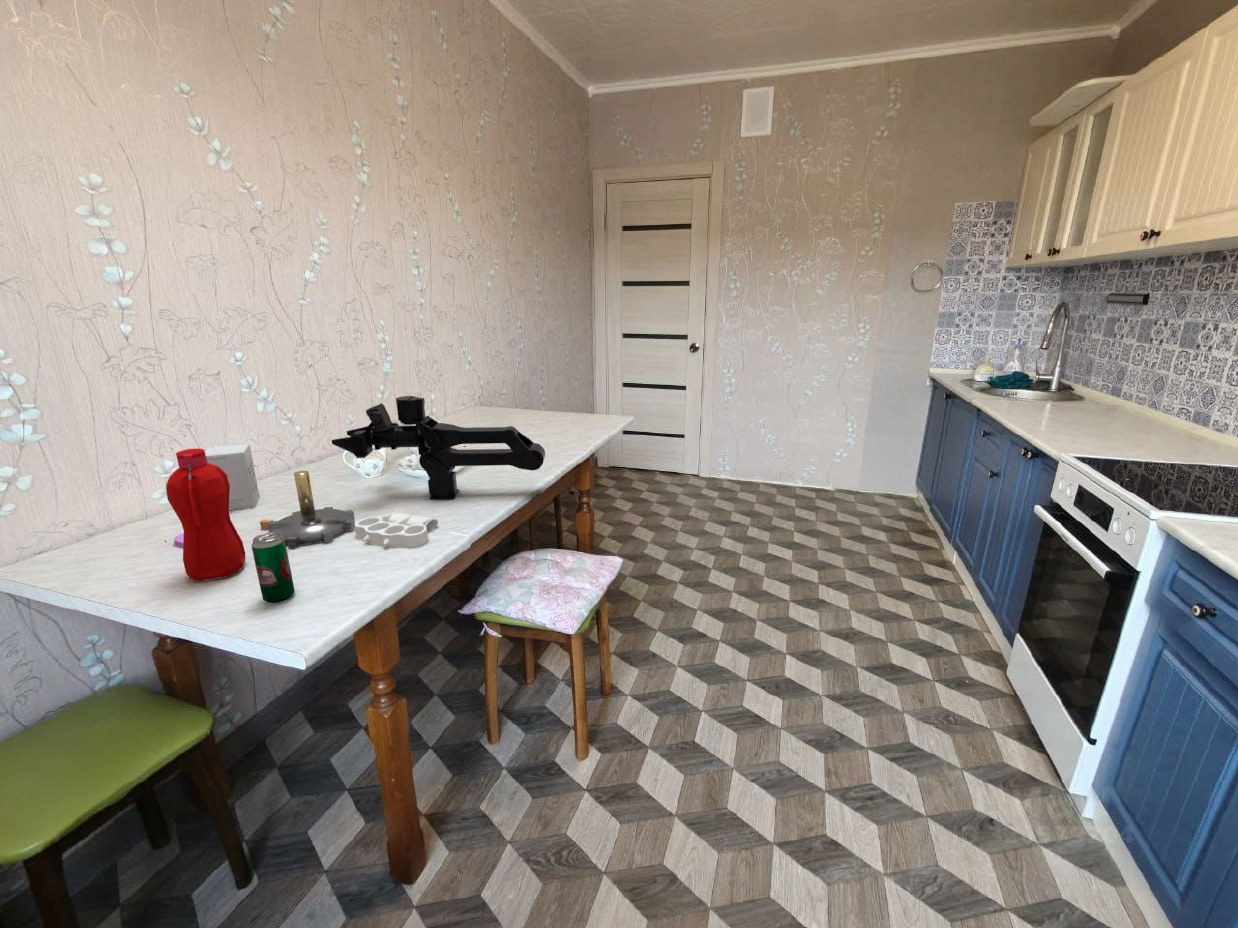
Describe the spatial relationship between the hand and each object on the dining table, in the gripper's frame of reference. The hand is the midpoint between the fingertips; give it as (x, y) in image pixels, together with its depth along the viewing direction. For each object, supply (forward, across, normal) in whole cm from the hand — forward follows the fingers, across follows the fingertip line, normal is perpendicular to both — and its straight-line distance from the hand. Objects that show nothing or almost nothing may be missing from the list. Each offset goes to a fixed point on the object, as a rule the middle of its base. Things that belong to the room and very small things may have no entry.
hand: (339, 437), depth 147 cm
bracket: (+21, +28, +17) cm, 39 cm away
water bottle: (+9, +42, +17) cm, 46 cm away
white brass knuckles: (-21, +25, +17) cm, 37 cm away
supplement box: (+27, +4, +17) cm, 32 cm away
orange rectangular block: (+10, +20, +16) cm, 28 cm away
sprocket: (-1, +22, +16) cm, 28 cm away
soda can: (-8, +52, +17) cm, 55 cm away
